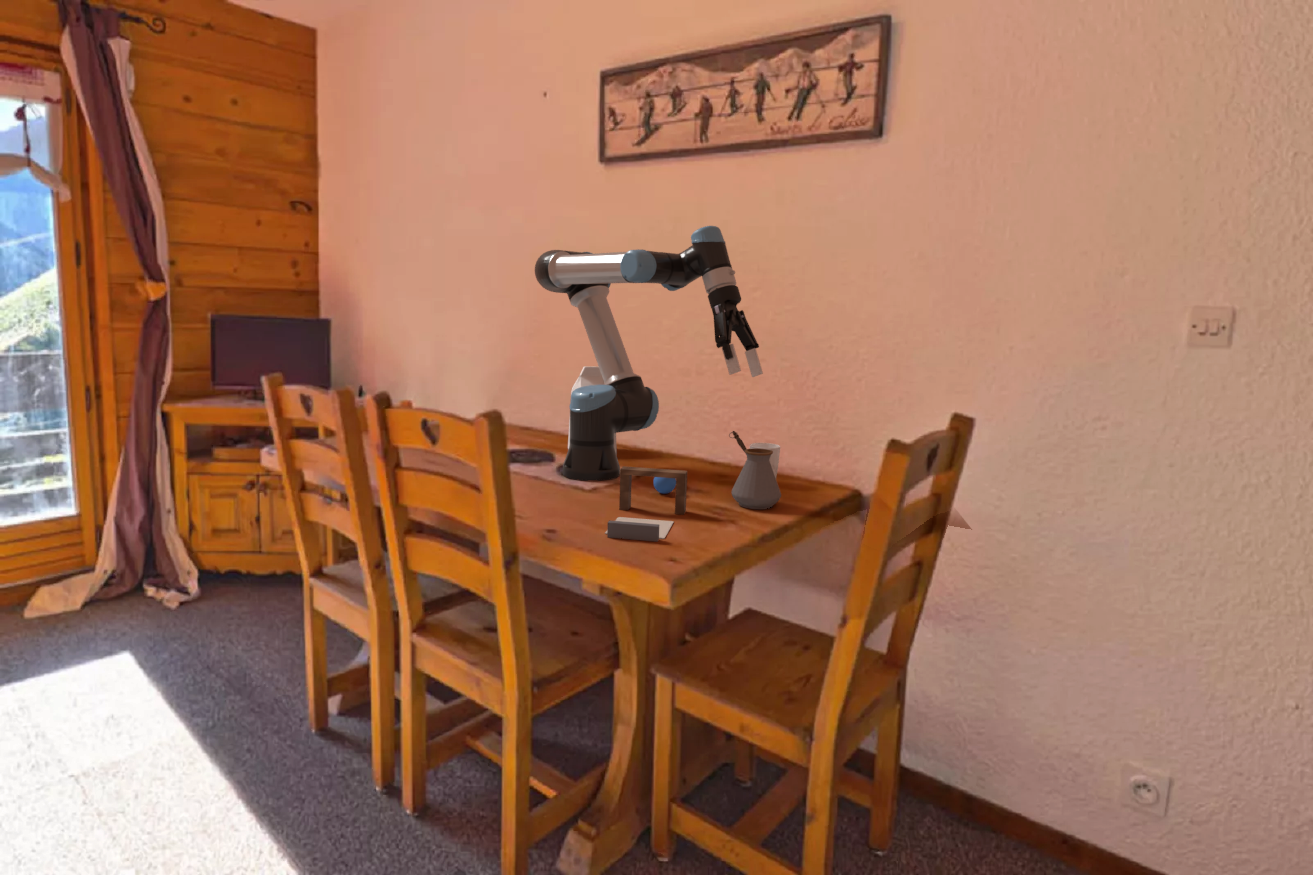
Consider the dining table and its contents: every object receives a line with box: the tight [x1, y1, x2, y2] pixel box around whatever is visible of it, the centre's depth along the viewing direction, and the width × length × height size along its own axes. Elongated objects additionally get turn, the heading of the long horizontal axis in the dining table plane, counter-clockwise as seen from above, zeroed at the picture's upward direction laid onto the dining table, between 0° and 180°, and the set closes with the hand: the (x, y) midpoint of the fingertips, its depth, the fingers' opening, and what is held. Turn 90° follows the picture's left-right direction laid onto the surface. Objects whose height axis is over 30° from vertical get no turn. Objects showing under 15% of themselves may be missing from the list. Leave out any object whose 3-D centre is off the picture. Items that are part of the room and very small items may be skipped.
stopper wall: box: [606, 520, 660, 542], centre depth 150 cm, size 10×2×3 cm, turn 80°
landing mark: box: [604, 516, 675, 540], centre depth 157 cm, size 12×12×1 cm
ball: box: [653, 477, 676, 495], centre depth 186 cm, size 6×6×6 cm
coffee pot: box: [728, 430, 782, 510], centre depth 182 cm, size 21×12×15 cm, turn 17°
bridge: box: [618, 465, 688, 516], centre depth 170 cm, size 14×3×9 cm, turn 80°
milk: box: [567, 366, 618, 455], centre depth 233 cm, size 12×12×26 cm
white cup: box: [749, 442, 781, 479], centre depth 200 cm, size 8×8×10 cm
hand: (746, 374), depth 181 cm, fingers open, 13 cm apart
